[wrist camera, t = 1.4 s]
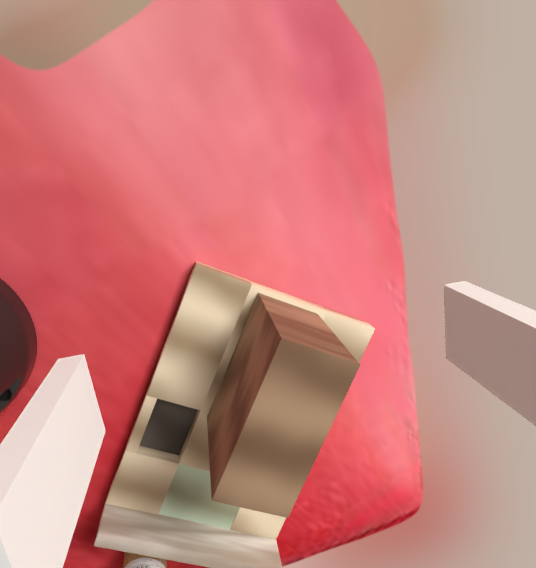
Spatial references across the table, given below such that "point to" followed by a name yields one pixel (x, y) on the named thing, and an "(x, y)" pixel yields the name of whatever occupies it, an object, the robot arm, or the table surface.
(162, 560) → the sprinkles bottle
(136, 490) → the board
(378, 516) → the table surface
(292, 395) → the block
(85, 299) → the table surface
